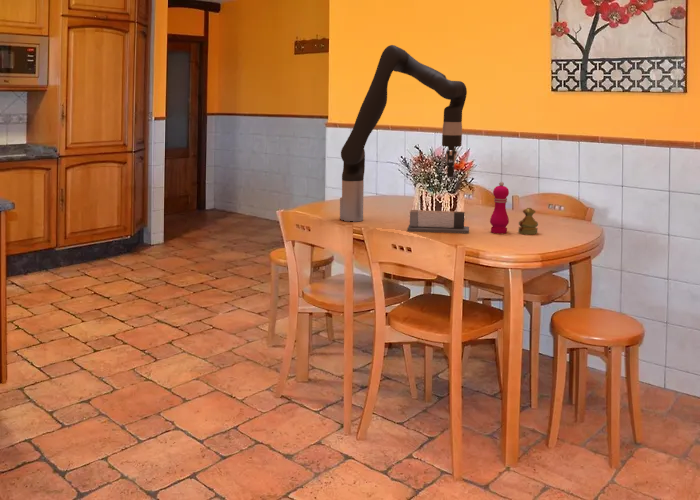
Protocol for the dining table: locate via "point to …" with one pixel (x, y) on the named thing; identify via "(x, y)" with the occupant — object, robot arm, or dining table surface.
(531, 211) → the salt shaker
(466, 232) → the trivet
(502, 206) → the pepper mill
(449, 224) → the block
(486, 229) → the dining table surface
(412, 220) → the block
